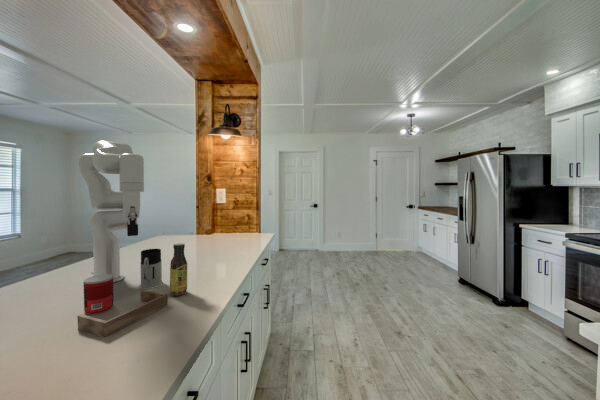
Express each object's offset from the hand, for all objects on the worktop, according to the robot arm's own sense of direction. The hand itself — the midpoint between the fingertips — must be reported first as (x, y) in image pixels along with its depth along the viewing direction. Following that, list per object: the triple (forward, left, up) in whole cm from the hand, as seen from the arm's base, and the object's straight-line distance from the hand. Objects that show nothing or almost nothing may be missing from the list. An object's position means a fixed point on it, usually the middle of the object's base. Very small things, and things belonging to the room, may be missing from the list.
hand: (132, 233), depth 94 cm
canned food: (-4, -10, -25) cm, 27 cm away
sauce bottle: (+12, +10, -25) cm, 30 cm away
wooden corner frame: (+9, -10, -25) cm, 29 cm away
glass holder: (-6, +11, -25) cm, 28 cm away
